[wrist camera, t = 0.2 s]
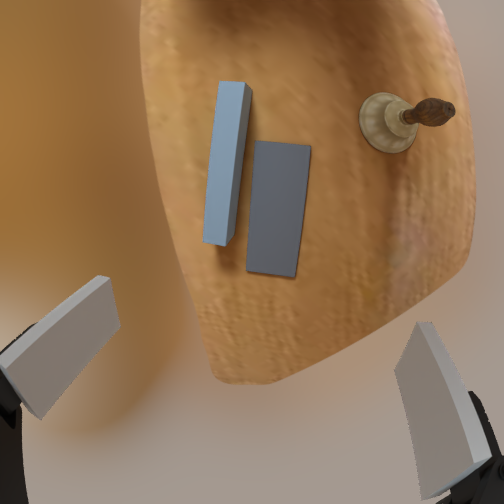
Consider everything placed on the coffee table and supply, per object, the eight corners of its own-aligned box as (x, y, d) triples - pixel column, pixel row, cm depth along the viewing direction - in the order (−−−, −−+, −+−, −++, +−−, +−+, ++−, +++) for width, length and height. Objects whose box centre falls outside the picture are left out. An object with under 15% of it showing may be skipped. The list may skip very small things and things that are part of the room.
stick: (230, 89, 31) (219, 80, 27) (252, 90, 31) (245, 82, 26) (214, 230, 39) (202, 242, 34) (234, 234, 39) (225, 246, 34)
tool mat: (255, 140, 33) (255, 140, 33) (310, 146, 32) (310, 146, 32) (246, 268, 40) (245, 270, 39) (294, 275, 39) (294, 277, 38)
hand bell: (403, 88, 27) (463, 57, 12) (423, 146, 29) (493, 151, 14) (349, 99, 29) (383, 65, 14) (370, 159, 31) (420, 170, 17)
